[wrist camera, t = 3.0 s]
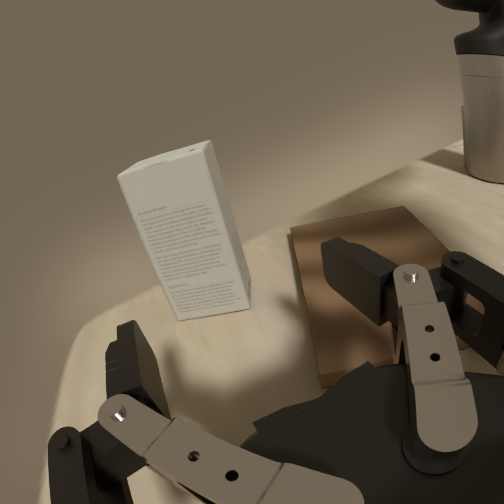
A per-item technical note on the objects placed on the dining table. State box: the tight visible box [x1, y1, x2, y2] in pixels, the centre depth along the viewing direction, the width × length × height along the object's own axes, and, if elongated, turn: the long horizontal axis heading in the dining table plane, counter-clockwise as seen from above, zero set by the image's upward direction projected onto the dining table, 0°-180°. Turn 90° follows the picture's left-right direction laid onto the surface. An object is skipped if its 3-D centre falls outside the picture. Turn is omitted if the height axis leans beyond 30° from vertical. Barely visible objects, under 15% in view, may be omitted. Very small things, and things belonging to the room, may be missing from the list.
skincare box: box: [117, 140, 251, 321], centre depth 23 cm, size 6×4×12 cm
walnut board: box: [290, 206, 485, 388], centre depth 23 cm, size 18×12×1 cm, turn 179°
